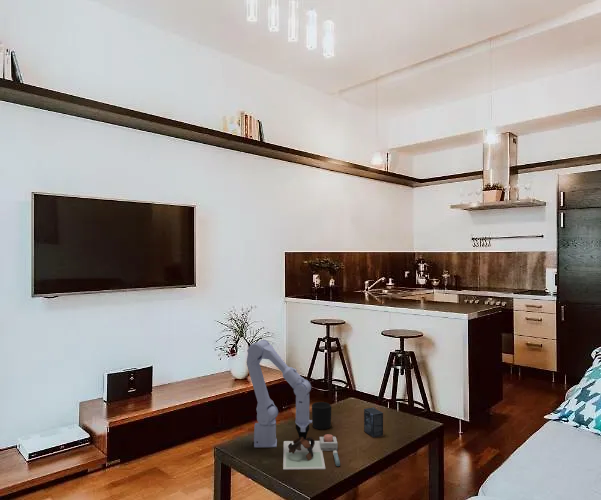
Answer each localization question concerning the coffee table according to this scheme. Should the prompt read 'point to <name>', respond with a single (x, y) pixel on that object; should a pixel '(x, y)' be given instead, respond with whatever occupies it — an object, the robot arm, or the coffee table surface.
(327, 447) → the white square holder
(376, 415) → the box
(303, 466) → the paper
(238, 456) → the coffee table surface
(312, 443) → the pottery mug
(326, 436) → the button
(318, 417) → the pen holder
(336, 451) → the marker
